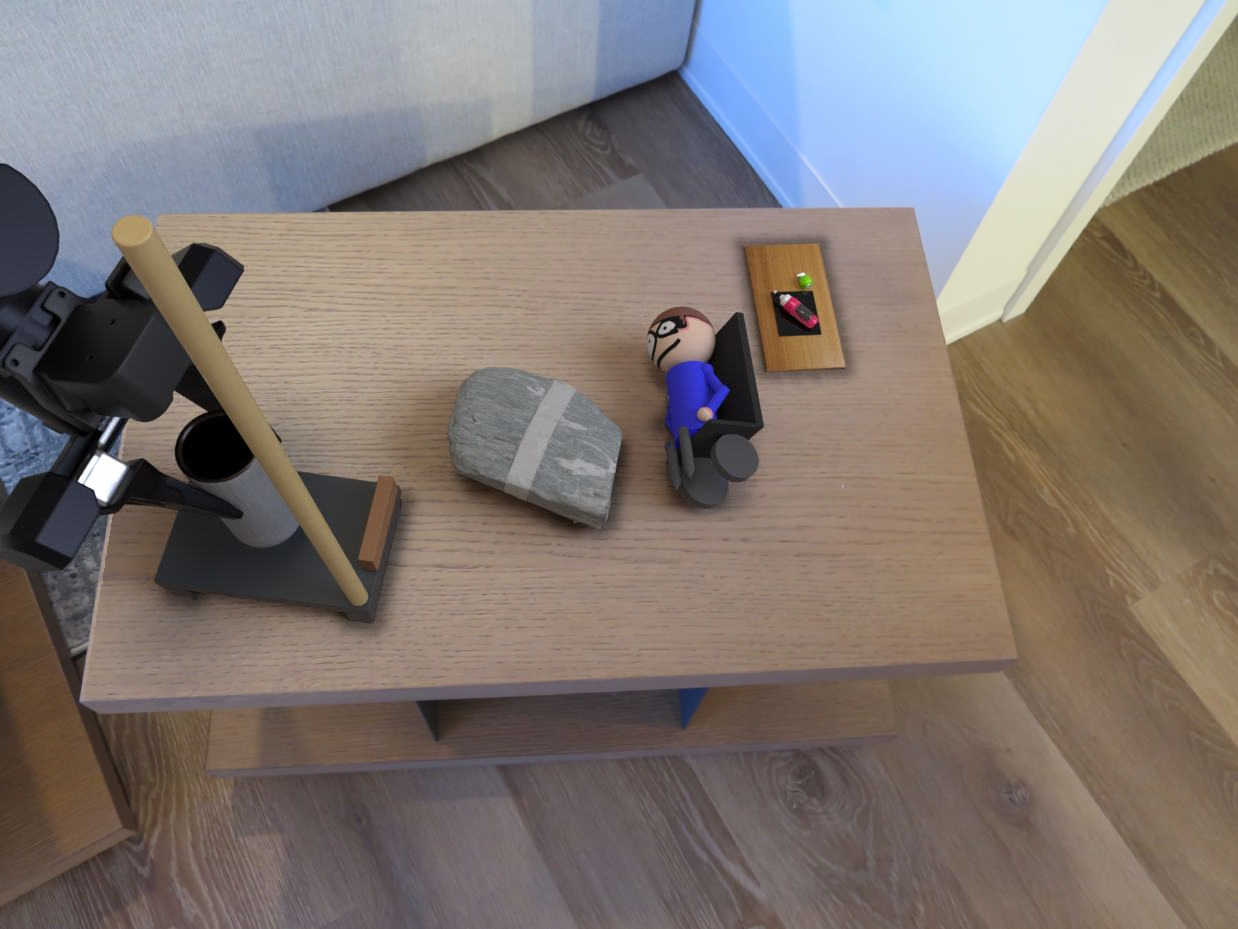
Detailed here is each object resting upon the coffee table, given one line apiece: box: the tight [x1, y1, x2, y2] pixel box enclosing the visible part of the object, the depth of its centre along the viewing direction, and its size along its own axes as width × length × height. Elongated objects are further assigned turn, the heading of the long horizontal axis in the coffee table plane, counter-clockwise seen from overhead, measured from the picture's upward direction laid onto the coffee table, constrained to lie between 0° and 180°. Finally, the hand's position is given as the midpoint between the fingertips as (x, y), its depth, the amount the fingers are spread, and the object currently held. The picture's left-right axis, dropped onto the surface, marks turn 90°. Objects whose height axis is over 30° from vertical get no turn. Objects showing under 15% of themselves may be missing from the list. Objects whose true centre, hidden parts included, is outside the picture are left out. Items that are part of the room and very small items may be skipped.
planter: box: [174, 409, 299, 548], centre depth 56 cm, size 4×4×10 cm
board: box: [744, 243, 847, 373], centre depth 77 cm, size 6×12×2 cm, turn 5°
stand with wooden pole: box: [110, 214, 403, 624], centre depth 48 cm, size 14×9×40 cm, turn 83°
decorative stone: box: [446, 366, 623, 531], centre depth 68 cm, size 13×10×6 cm
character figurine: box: [646, 306, 765, 510], centre depth 69 cm, size 8×7×15 cm
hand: (258, 480), depth 55 cm, fingers closed on planter, 4 cm apart
